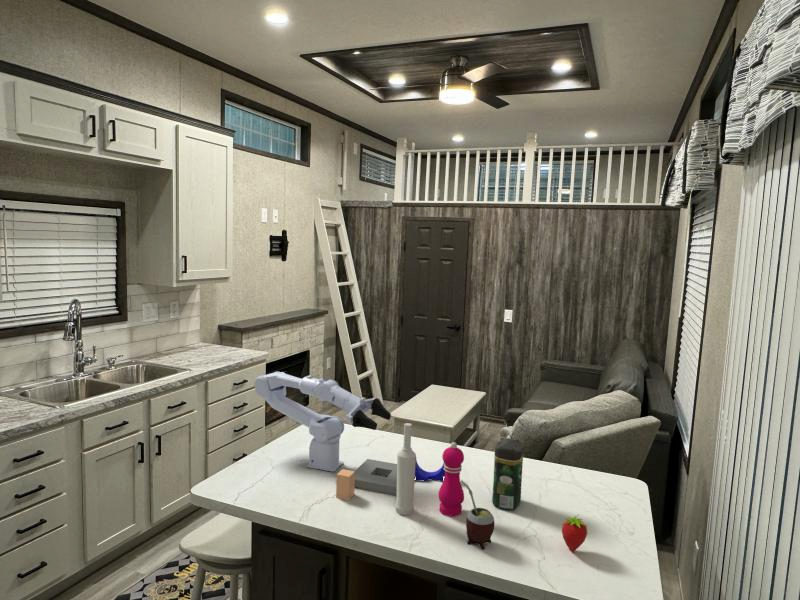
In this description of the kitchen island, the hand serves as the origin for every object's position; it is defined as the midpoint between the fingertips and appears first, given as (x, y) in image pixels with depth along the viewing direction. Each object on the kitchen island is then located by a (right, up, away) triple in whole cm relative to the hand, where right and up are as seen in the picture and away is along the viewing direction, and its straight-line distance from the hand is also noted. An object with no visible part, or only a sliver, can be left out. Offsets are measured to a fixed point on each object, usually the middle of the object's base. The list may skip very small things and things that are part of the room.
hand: (383, 421), depth 167 cm
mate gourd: (+25, -24, -30) cm, 46 cm away
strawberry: (+48, -25, -33) cm, 63 cm away
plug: (-11, -20, -8) cm, 24 cm away
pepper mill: (+19, -22, -15) cm, 33 cm away
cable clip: (+14, -20, +6) cm, 25 cm away
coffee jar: (+36, -22, -9) cm, 43 cm away
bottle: (+6, -22, -16) cm, 28 cm away
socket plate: (-1, -19, +3) cm, 19 cm away
